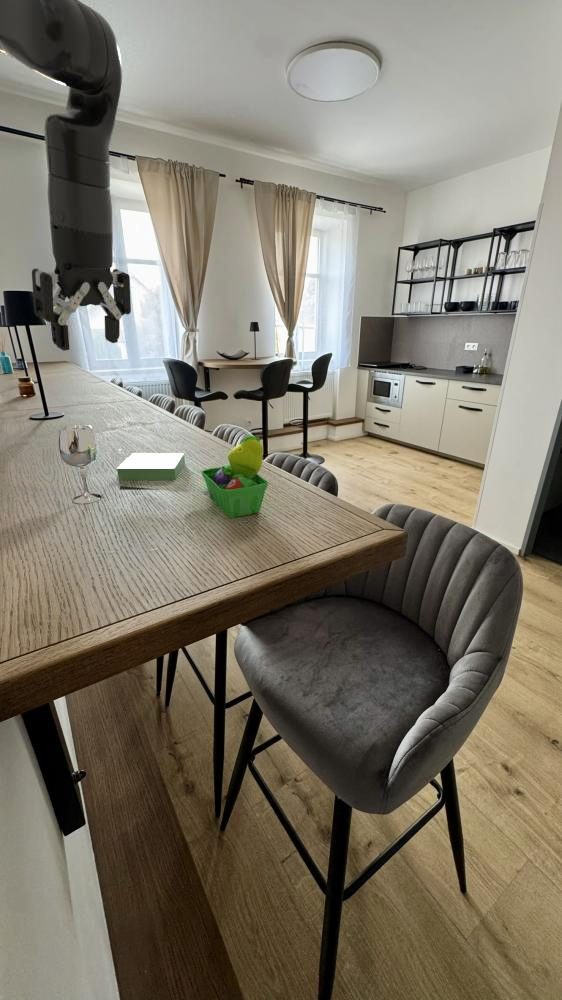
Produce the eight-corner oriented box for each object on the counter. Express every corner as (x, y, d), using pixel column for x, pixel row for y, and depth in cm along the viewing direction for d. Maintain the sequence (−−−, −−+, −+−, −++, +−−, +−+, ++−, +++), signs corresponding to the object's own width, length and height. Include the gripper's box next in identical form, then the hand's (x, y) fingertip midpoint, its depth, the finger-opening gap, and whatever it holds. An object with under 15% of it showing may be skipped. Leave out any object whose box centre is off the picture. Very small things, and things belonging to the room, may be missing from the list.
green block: (119, 489, 73) (116, 468, 72) (135, 472, 82) (132, 453, 81) (176, 489, 74) (174, 468, 72) (185, 472, 83) (184, 453, 82)
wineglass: (113, 496, 70) (102, 426, 66) (83, 507, 65) (69, 433, 61) (91, 490, 73) (80, 422, 68) (61, 500, 68) (46, 428, 64)
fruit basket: (201, 498, 70) (196, 432, 66) (248, 490, 74) (247, 428, 70) (224, 523, 61) (220, 449, 56) (277, 513, 64) (278, 442, 60)
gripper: (108, 220, 61) (110, 331, 70) (9, 209, 50) (28, 341, 60) (144, 234, 58) (141, 347, 68) (48, 226, 48) (60, 361, 57)
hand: (88, 344), depth 64 cm, fingers open, 8 cm apart
